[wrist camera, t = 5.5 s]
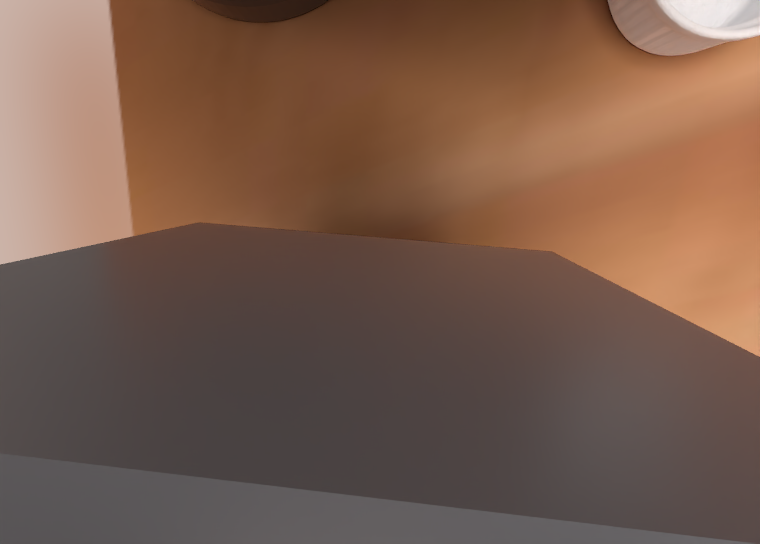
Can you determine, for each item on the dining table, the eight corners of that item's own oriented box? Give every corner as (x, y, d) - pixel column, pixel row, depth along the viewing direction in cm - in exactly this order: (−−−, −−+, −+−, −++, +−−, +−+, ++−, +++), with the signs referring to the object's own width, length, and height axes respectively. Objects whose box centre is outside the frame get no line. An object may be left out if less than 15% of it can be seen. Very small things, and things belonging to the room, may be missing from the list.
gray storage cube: (199, 222, 11) (-570, 384, 2) (552, 251, 10) (1242, 602, 2) (213, 502, 13) (-124, 1066, 5) (496, 536, 13) (672, 1238, 4)
